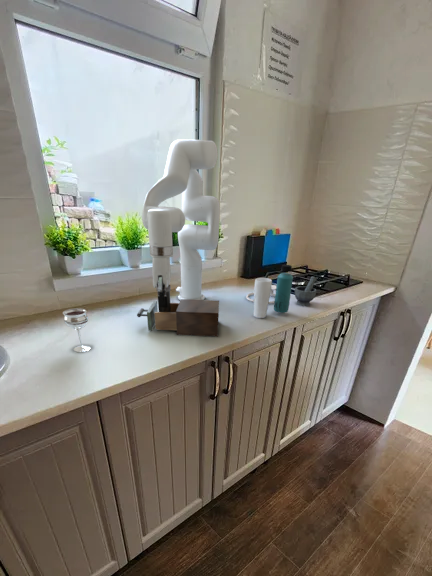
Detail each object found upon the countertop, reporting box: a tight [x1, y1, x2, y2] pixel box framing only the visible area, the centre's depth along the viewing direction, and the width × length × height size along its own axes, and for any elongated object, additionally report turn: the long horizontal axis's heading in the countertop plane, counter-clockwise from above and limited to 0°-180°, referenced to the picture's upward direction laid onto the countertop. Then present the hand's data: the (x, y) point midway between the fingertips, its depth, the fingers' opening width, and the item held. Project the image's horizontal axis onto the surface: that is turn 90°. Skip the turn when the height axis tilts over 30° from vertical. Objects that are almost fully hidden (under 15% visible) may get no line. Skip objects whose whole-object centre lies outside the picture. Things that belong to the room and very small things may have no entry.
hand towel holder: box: [245, 284, 277, 305], centre depth 156 cm, size 17×4×21 cm
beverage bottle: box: [273, 264, 294, 314], centre depth 133 cm, size 6×7×20 cm
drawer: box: [136, 300, 180, 332], centre depth 118 cm, size 18×13×7 cm
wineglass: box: [62, 308, 91, 353], centre depth 99 cm, size 7×7×12 cm
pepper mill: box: [155, 284, 172, 312], centre depth 116 cm, size 5×5×14 cm
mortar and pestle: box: [294, 276, 317, 307], centre depth 148 cm, size 11×9×12 cm
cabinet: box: [176, 299, 220, 338], centre depth 118 cm, size 15×15×9 cm
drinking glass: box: [252, 277, 273, 319], centre depth 130 cm, size 7×7×15 cm
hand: (164, 304), depth 116 cm, fingers closed on pepper mill, 4 cm apart
